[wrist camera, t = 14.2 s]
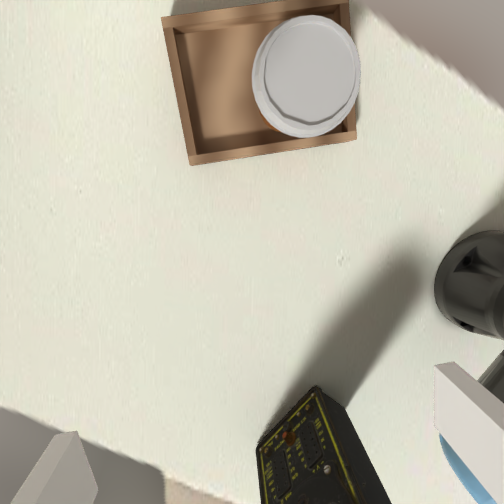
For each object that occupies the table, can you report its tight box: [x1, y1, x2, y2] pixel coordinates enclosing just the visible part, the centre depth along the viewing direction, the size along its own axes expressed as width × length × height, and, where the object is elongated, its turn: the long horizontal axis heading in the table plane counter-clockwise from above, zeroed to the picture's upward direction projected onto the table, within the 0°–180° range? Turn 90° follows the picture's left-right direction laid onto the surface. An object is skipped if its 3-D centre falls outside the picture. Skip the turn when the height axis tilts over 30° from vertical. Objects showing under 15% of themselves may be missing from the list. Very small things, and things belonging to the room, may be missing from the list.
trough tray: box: [161, 0, 357, 166], centre depth 36 cm, size 20×15×3 cm
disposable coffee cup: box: [252, 15, 361, 138], centre depth 32 cm, size 10×10×12 cm
